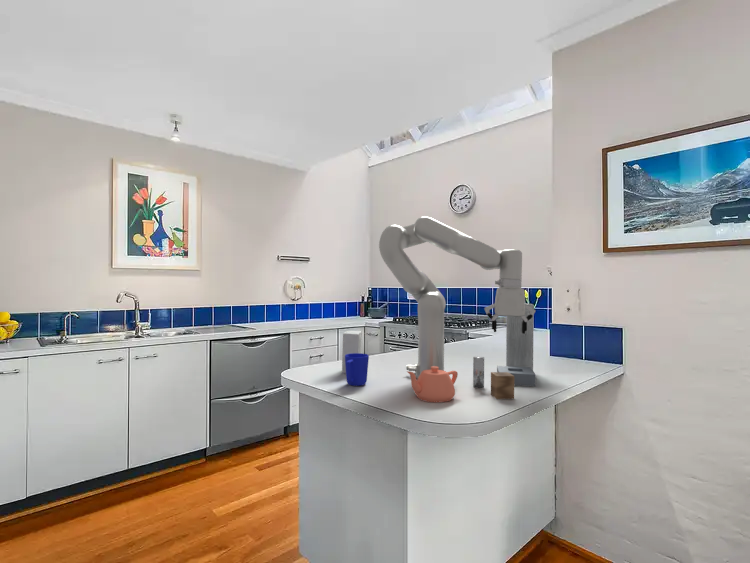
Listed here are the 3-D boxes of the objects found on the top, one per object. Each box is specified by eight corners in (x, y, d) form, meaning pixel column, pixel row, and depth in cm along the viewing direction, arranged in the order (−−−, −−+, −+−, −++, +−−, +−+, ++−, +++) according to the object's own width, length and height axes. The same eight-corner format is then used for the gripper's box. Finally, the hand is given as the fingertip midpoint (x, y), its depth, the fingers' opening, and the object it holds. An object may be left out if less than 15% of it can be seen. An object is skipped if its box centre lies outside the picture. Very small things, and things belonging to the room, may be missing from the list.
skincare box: (346, 368, 167) (346, 330, 167) (362, 369, 166) (362, 330, 166) (341, 373, 159) (341, 332, 159) (358, 374, 158) (358, 333, 158)
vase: (537, 372, 163) (537, 303, 163) (527, 376, 155) (527, 304, 155) (512, 368, 169) (512, 302, 169) (501, 372, 162) (502, 303, 162)
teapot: (468, 400, 124) (468, 368, 124) (416, 407, 117) (416, 373, 117) (445, 390, 135) (446, 361, 135) (396, 396, 128) (397, 365, 128)
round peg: (473, 388, 138) (473, 358, 138) (473, 385, 142) (473, 356, 142) (484, 388, 137) (484, 358, 137) (483, 386, 141) (484, 356, 141)
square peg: (496, 399, 125) (496, 376, 125) (490, 394, 131) (490, 372, 131) (514, 399, 126) (514, 376, 126) (507, 394, 131) (508, 372, 131)
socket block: (499, 384, 144) (499, 372, 144) (496, 376, 156) (497, 365, 156) (535, 386, 141) (535, 374, 141) (530, 378, 153) (530, 367, 153)
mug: (335, 388, 136) (336, 358, 136) (350, 380, 147) (350, 352, 147) (358, 391, 133) (359, 360, 133) (371, 382, 144) (372, 354, 144)
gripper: (485, 283, 145) (484, 332, 145) (537, 285, 141) (536, 335, 142) (484, 283, 152) (483, 330, 152) (534, 284, 149) (532, 332, 149)
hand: (508, 332), depth 147 cm, fingers open, 9 cm apart
